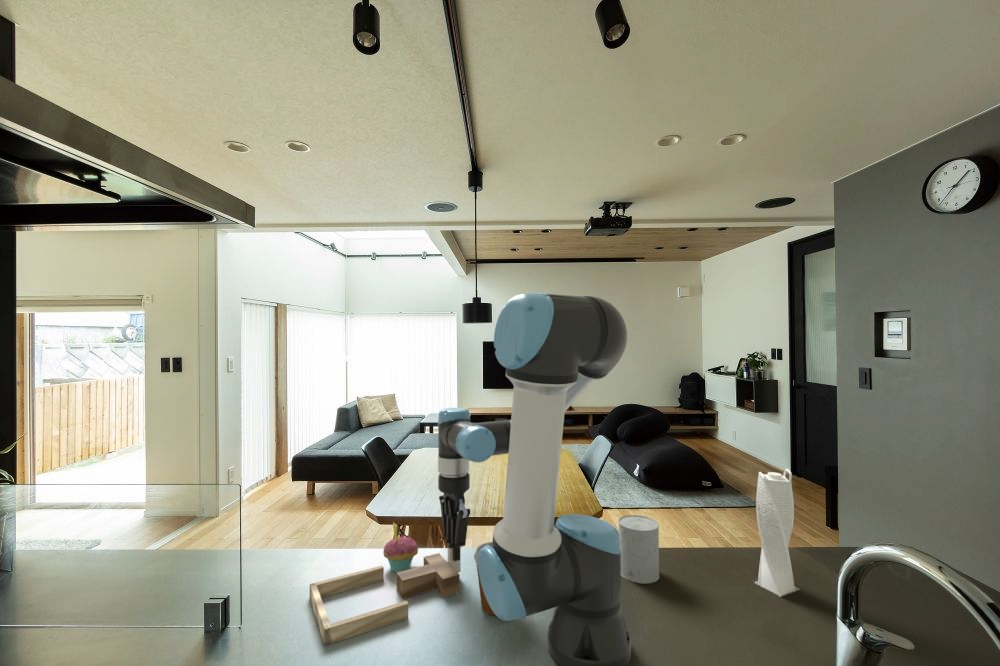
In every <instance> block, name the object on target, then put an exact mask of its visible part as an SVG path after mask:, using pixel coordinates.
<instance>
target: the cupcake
mask: <svg viewBox="0 0 1000 666" xmlns="http://www.w3.org/2000/svg"><path fill="white" fill-rule="evenodd" d="M392 527H393V534H394V538H392V539H390V540H388V542H387V543H386V544H385V545H384V547H383V557H384V558H386V559H387V562H388V563H389V564H388V565H389V566H390V570H391V571H393V572H395V573H397V572H401V571H405V570H409V569H411V566H412V562H413V559H414V557H415V556H417V555H418V553H419V546H418V543H417V541H415V539H413V538H411V537H409V536H398V532H397V526H396V523H395V521H394V520H393V521H392Z"/></svg>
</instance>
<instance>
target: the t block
mask: <svg viewBox="0 0 1000 666" xmlns="http://www.w3.org/2000/svg"><path fill="white" fill-rule="evenodd" d="M434 590H436V592H438V593H439V595H440V596H441V597H442V598H446V597H449V596H452V595H455V594H459V593H460V573H458V572H457V571H456V570H455V569H454V568H453V567H452V566H451V565H450V564H449V563H448V560H446V559H445V558H444V557H443V556H442V555H441V553H439V552H438V553H434V554H430V555H426V556H423V565H420V566H417V567H413V568H409V569H408V570H405V571H401V572H396V592H397V593H398V595H399V597H400V598H401V599H402V600H404V599H406V598H410V597H414V596H416V595H417V596H418V595H421V594H424V593H427V592H430V591H434Z"/></svg>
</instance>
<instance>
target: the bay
mask: <svg viewBox="0 0 1000 666" xmlns="http://www.w3.org/2000/svg"><path fill="white" fill-rule="evenodd" d="M384 568H385V567H384V566H383V565H378V566H374V567H371V568H367V569H363V570H359V571H355V572H352V573H348V574H343V575H341V576H340V575H339V576H335V577H332V578H328V579H324V580H321V581H317V582H313V583H310V584H309V600H310V603H311V607H312V610H313V613H314V616H315V618H316V623H317V626H318V628H319V633H320V635H321V639H322V641H323V645H324V647H325V646H329V645H331V644H334V643H338V642H341V641H344V640H347V639H350V638H352V637H353V638H354V637H356V636H359V635H362V634H365V633H368V632H371V631H374V630H377V629H380V628H383V627H386V626H390V625H392V624H394V623H395V624H396V623H399V622H402V621H405V620H407V619H409V602H408V601H407V600H404V601H401V602H397V603H395V604H391V605H388V606H384V607H381V608H378V609H375V610H372V611H369V612H368V611H367V612H365V613H361V614H358V615H355V616H353V617H349V618H345V619H341V620H339V621H336V622H332V623H331V622H330V619H329V617H328V614H327V611H326V608H325V606H324V603H323V599H322V598H324V597H329V596H332V595H336V594H339V593H343V592H347V591H350V590H353V589H357V588H361V587H364V586H368V585H372V584H376V583H379V582H383V581H384V579H385V578H384V577H385V575H384V574H385V573H384V572H385V569H384Z"/></svg>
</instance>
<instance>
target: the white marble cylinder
mask: <svg viewBox="0 0 1000 666" xmlns="http://www.w3.org/2000/svg"><path fill="white" fill-rule="evenodd" d="M659 528H660V525H659V522H658V521H656V520H655V519H653V518H651V517H648V516H646V515H645V516H643V515H639V514H638V515H637V514H636V515H635V514H631V515H630V514H629V515H624V516H621V517H619V518H618V533H619V537H620V549H621V578H623V579H625V580H627V581H629V580H630V582H633V583H635V582H636V583H637V584H644V585H645V584H652V583H656V582H657V581H658V580H659V579H660V549H659V548H660V545H659V544H660V539H659V538H660V537H659V536H660V535H659Z"/></svg>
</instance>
